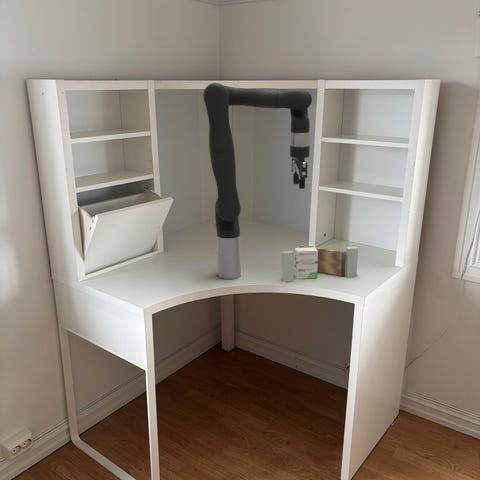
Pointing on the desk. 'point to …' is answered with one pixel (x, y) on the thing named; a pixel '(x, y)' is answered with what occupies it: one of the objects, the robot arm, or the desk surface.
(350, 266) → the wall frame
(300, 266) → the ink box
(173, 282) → the desk surface
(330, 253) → the brown patterned panel
